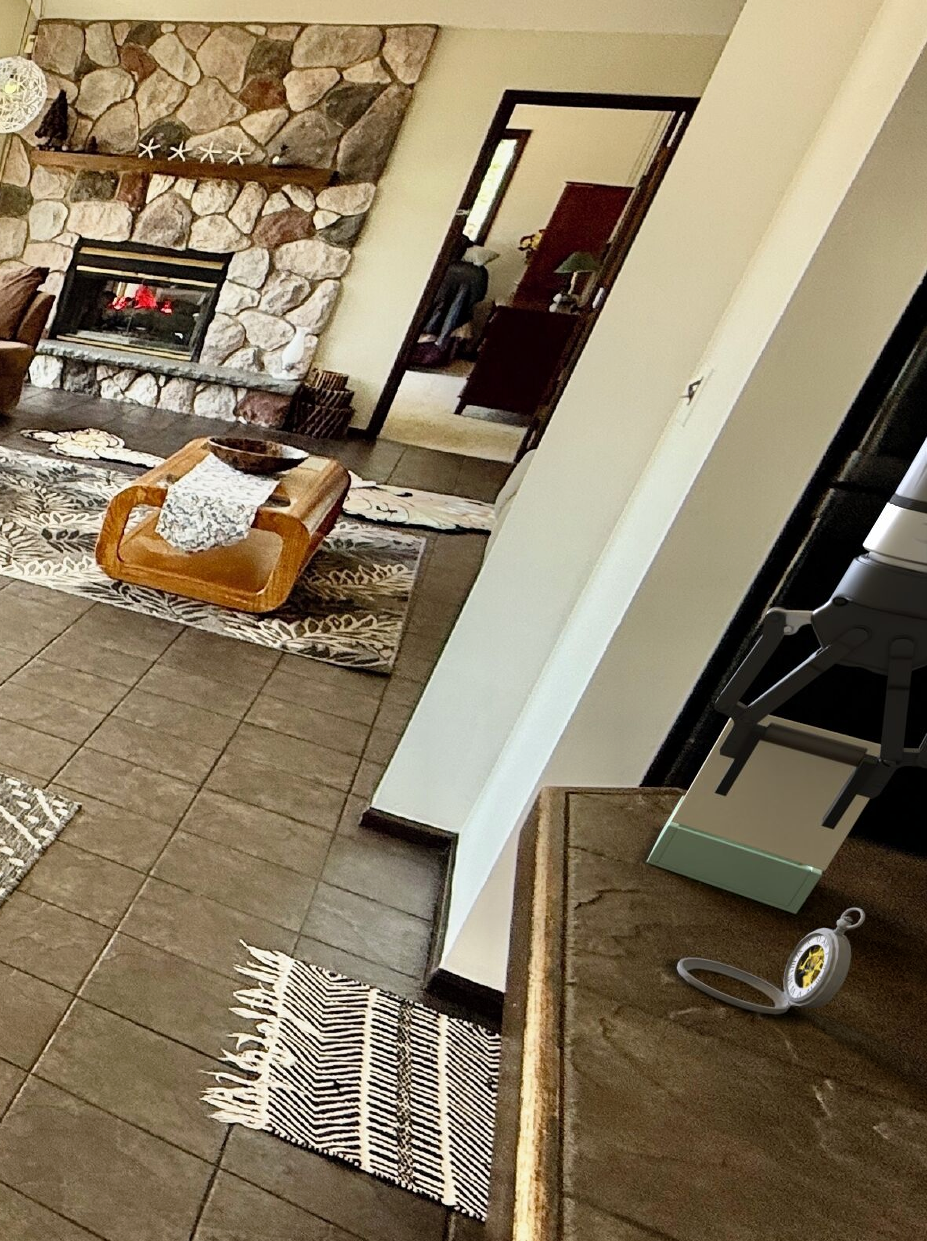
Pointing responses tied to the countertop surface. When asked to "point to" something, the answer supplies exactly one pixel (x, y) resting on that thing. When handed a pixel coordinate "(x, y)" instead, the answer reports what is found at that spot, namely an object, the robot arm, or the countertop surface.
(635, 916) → the countertop surface
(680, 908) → the countertop surface
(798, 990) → the pocket watch
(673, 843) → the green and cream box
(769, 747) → the cream coin bank
